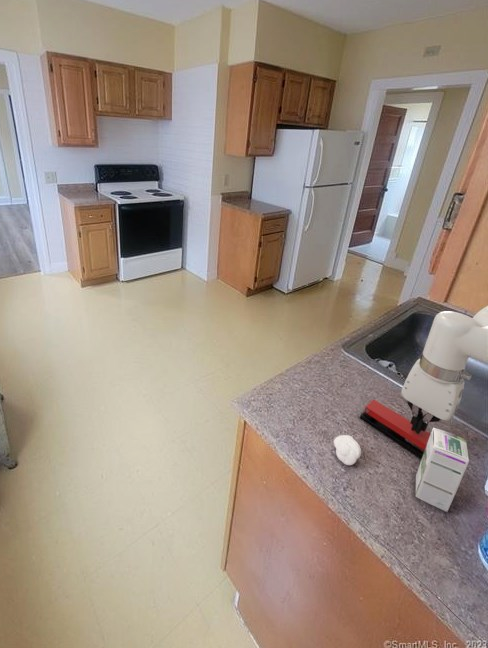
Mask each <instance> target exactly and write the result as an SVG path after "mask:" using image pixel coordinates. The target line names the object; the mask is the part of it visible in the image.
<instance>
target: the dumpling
mask: <svg viewBox="0 0 488 648" xmlns="http://www.w3.org/2000/svg"><path fill="white" fill-rule="evenodd" d="M333 445H334V448H335V455H336V457H337V459H338V460H339V462H341V463H343V464H344V465H345V466H353V465H354V464H356V463H357V461H358V460H359V459H360V457H361V455H362V449H361V446H360V444H359V443H358V442H357V440H355V439H354V438H353V436H351V435H348V434H340V435H338V436H336V437H335V438H334V439H333Z"/></svg>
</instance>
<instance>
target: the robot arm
mask: <svg viewBox="0 0 488 648" xmlns="http://www.w3.org/2000/svg"><path fill="white" fill-rule="evenodd" d="M469 358H471V359H474V360H476V361H479V362H481V363H484V364H487V365H488V305H486V306H485V307H482V309H480V310H479V311H478V312H476V314H474V316H473V317H471V316H469V315H466V314H464V313H461V312H457V311H451V310H443V311H440V312H438V313H437V314H436V315H435V316H434V319H433V321H432V324H431V327H430V330H429V333H428V336H427V338H426V342H425V345H424V348H423V350H422V353H421V356H420V358H419V359H417V360H416V361H415V363H414V364H413V366H412V367H411V368H410V370H409V373H408V375H407V376H406V379H405V381H404V382H403V385H402V388H401V390H400V394H399V396H398V397H399V398H400V399H401V400H402V401H403V402H404V403H406V404H407V406H408V407H409V409H410V410H411V415H412V417H411V419H410V424H412V428H411V430H412V431H415V430H416V431H415V432H416V433H417V434H419V433H420V432H421V430H422V431H423V432H424V431H427V428H428V427H429V423H438V422H439V423H441V424H443V425H446V426H448V427H451V426H452V424H453V423H454V415H455V414H456V413H457V411H458V409H459V407H460V403H461V401H462V396H463V393H464V388H465V380H466V381H468V382H470V380H471V378H472V374H469V373H468V372H467V369H466V366H467V363H468V361H469ZM423 411H425V412H426V413H424V412H423Z"/></svg>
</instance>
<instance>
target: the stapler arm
mask: <svg viewBox="0 0 488 648" xmlns="http://www.w3.org/2000/svg"><path fill="white" fill-rule="evenodd" d="M363 410H364V411H363V412H365V413H367V414H368V415H370V416H372V417H373V418H375V419H376V420H378V421H379V422H381V423H382V424H384V425H385V426H387V427H389V428H390V429H392V430H393V431H395V432H396V433H398V434H399V435H401V436H403V437H404V438H406V439H407V440H409V441H410V442H412V443H413V444H415V445H417V446H418V447H420V448H421V449H423V450H424V451H425V448H426V446H427V443H428V440H429V437H430V435H431V432H429V431H427V430H425V431H424V432H423V431H422V430H421V432H420V433H419V434H417V433H416V432H415V431H416V430H415V431H412V430H411V428H412V424H410V422H411V420H409V419H407V418H405V417H404V416H403V415H400V414H399V413H397V412H396V411H394V410H392V409H390V408H389V407H387V406H385V405H384V404H382V403H381V402H379V401H377V400H375V399H374V398H373V399H372V400H371V401H370V402H369V403H367V405H365V407H364V409H363Z"/></svg>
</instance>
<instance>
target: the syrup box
mask: <svg viewBox="0 0 488 648" xmlns="http://www.w3.org/2000/svg"><path fill="white" fill-rule="evenodd" d="M430 434H431V435H430V437H429V440H428V443H427V446H426V448H425V451H424V454H423V457H422V459H420V463H419V465H418V468H417V470H416V474H415V493H414V494H415V498H417V499H419V500H421V501H422V502H424V503H426V504H429V505H431V506H433V507H435V508H437V509H439V510H442V511H444V512H446V513H448V511H449V510H450V508H451V505H452V503H453V501H454V498H455V496H456V494H457V491H458V489H459V487H460V485H461V481H462V480H463V476H464V475H465V473H466V470H467V468H468V465H469V463H470V458H469V451H468V443H467V439H466V438H463V437H461V436H459V435H457V434H454V433H451V432H449V431H446V430H443V429H441V428H437V427H432V429H431V432H430Z"/></svg>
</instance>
